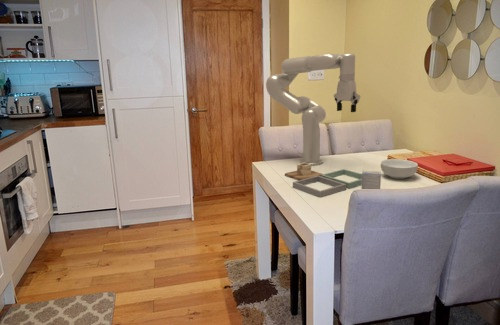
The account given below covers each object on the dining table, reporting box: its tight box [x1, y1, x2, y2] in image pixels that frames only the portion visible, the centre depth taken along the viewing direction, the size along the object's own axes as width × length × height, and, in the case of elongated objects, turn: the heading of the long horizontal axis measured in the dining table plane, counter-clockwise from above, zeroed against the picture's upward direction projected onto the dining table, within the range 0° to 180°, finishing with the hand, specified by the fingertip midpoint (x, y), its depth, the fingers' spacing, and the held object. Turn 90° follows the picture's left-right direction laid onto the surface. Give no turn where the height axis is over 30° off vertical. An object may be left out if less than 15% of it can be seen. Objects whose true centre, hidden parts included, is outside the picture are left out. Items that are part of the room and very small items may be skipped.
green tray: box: [321, 168, 362, 189], centre depth 180 cm, size 18×16×2 cm
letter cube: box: [296, 162, 312, 176], centre depth 189 cm, size 5×5×5 cm
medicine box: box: [361, 170, 382, 190], centre depth 164 cm, size 8×4×9 cm, turn 71°
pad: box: [284, 169, 323, 181], centre depth 190 cm, size 14×14×1 cm
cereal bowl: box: [380, 158, 419, 180], centre depth 182 cm, size 17×17×7 cm
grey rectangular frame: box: [292, 176, 347, 198], centre depth 170 cm, size 18×16×2 cm
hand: (346, 111), depth 197 cm, fingers open, 9 cm apart
